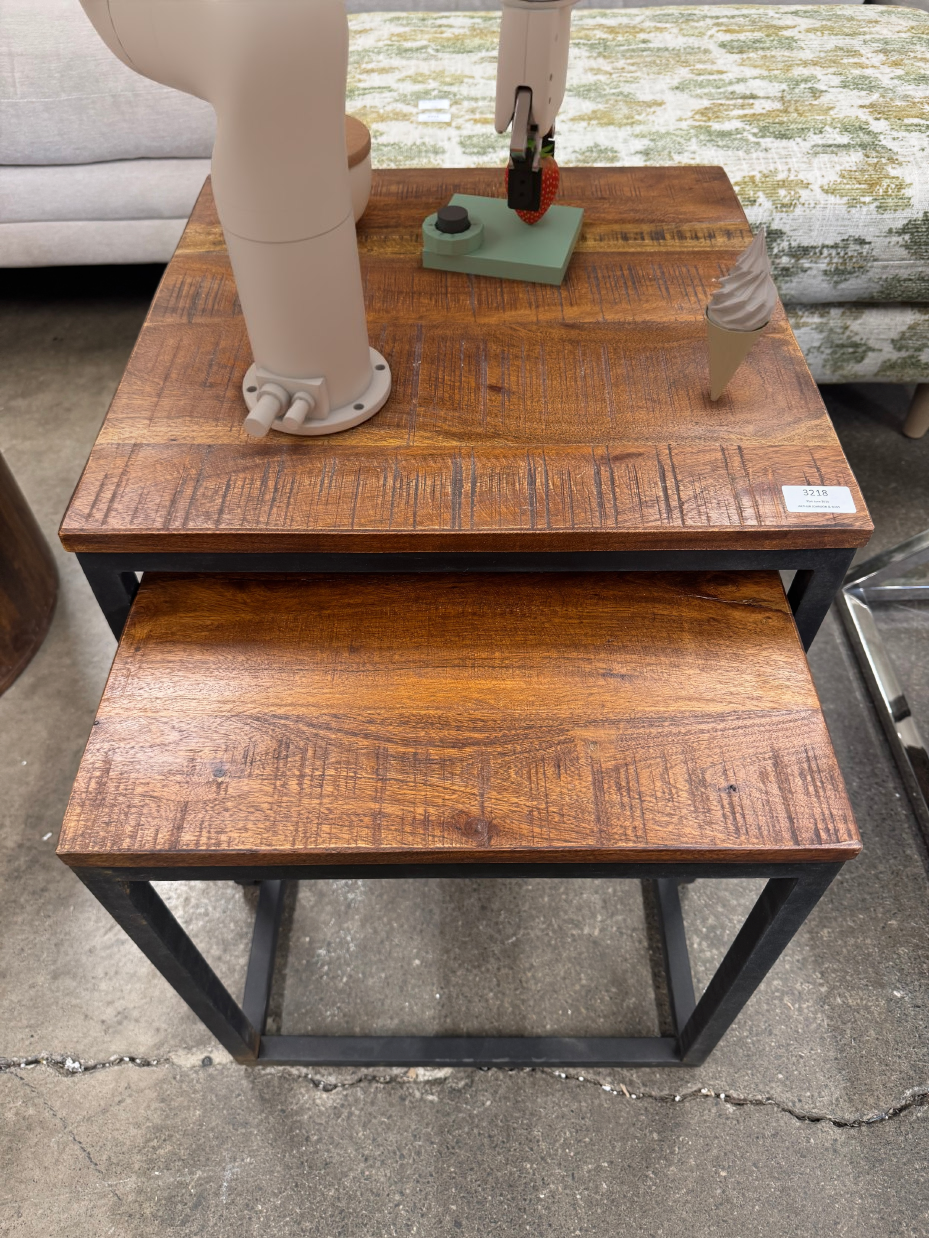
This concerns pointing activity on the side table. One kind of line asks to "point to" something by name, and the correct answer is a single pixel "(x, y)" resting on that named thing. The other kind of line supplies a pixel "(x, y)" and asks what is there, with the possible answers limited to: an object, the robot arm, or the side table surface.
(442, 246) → the scale
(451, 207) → the button
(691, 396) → the side table surface
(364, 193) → the lidded bowl
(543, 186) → the fruit
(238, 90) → the robot arm
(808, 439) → the side table surface
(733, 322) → the ice cream cone
